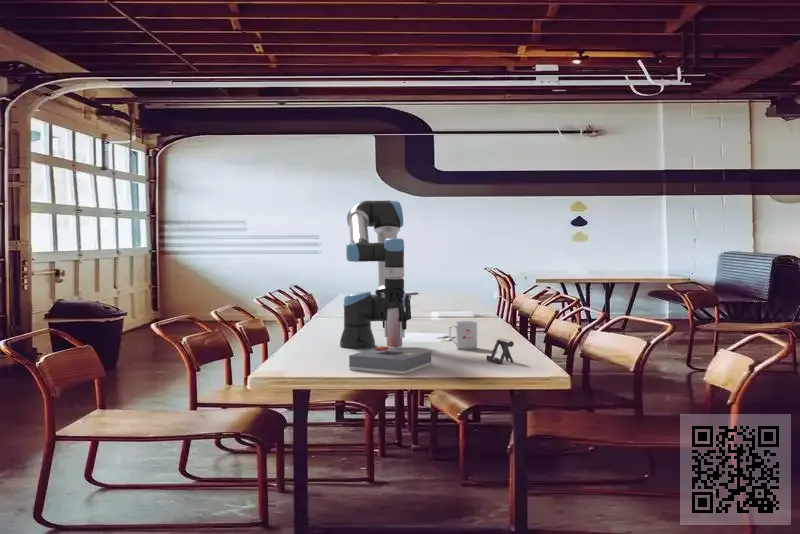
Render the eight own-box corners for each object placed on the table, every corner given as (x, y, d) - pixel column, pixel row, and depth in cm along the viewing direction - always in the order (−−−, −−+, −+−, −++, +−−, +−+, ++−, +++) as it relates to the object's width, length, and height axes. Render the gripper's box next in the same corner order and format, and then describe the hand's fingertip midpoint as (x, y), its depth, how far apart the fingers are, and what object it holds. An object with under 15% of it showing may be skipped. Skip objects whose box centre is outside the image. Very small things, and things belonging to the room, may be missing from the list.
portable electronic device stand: (486, 361, 285) (486, 339, 285) (503, 359, 288) (504, 338, 288) (498, 364, 277) (498, 342, 277) (516, 363, 280) (516, 340, 280)
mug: (474, 346, 322) (474, 320, 322) (479, 349, 313) (479, 323, 313) (446, 347, 320) (446, 321, 320) (451, 350, 312) (451, 323, 311)
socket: (349, 369, 268) (349, 353, 268) (379, 360, 288) (379, 345, 287) (404, 374, 258) (403, 357, 258) (431, 364, 277) (431, 348, 277)
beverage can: (386, 346, 296) (386, 308, 295) (401, 345, 296) (401, 307, 295) (387, 348, 290) (387, 310, 289) (402, 348, 290) (402, 309, 289)
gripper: (368, 277, 292) (368, 336, 294) (411, 279, 283) (411, 340, 285) (377, 276, 299) (378, 334, 300) (420, 278, 290) (420, 337, 292)
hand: (394, 337), depth 293 cm, fingers closed on beverage can, 6 cm apart
